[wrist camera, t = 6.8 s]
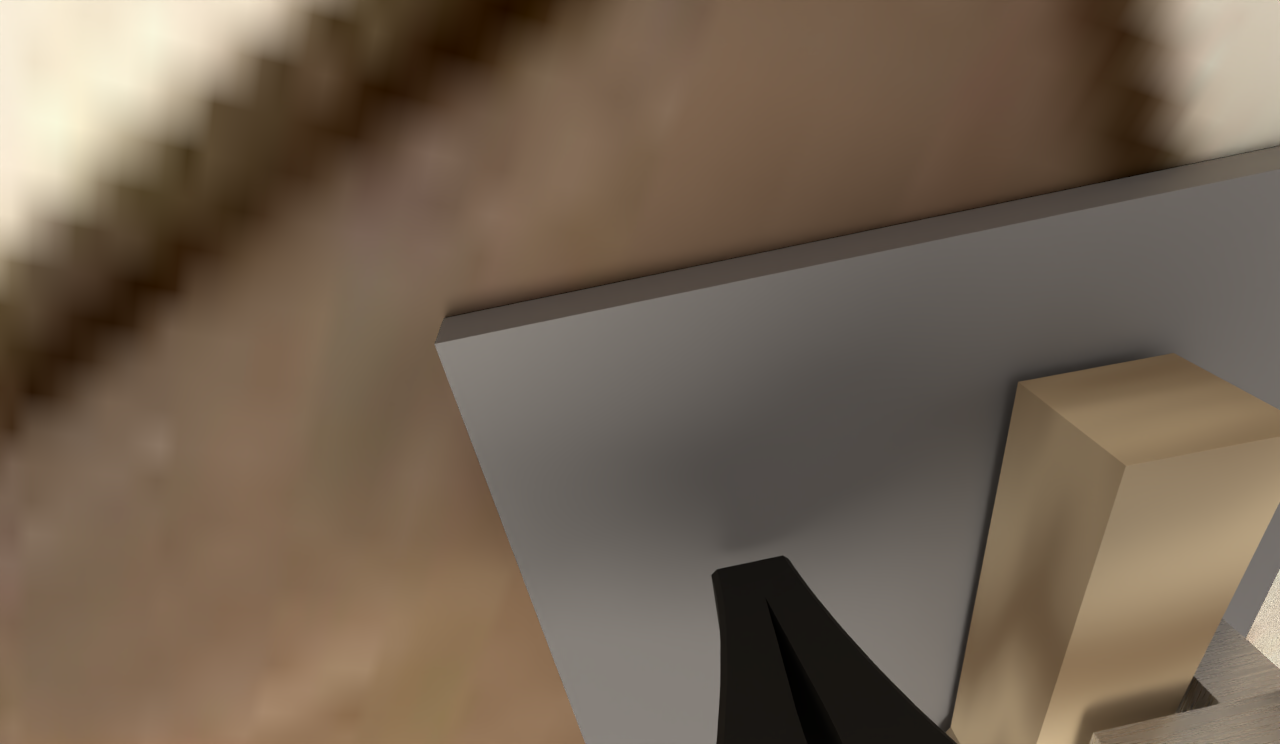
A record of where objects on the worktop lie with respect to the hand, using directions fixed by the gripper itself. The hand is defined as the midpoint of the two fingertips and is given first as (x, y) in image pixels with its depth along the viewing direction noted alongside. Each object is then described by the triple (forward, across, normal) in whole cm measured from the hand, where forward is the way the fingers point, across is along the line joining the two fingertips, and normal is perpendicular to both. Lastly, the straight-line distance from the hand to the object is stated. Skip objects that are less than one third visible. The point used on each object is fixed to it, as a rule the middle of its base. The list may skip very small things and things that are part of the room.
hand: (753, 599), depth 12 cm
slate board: (+3, -5, +3) cm, 6 cm away
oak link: (+1, -7, +4) cm, 8 cm away
